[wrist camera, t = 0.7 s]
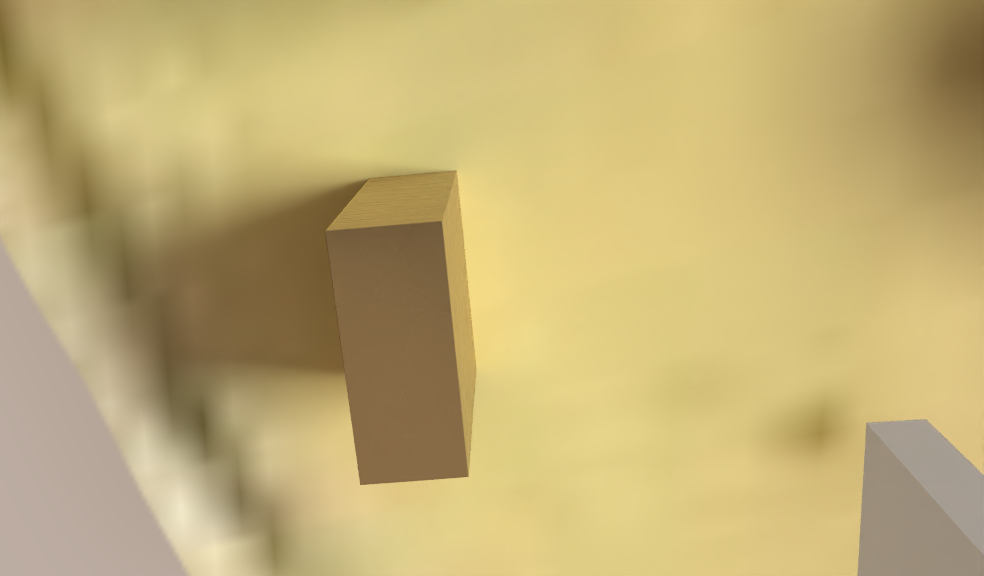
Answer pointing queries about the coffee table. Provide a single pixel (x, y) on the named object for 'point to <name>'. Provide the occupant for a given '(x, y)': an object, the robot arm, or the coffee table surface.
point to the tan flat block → (405, 327)
